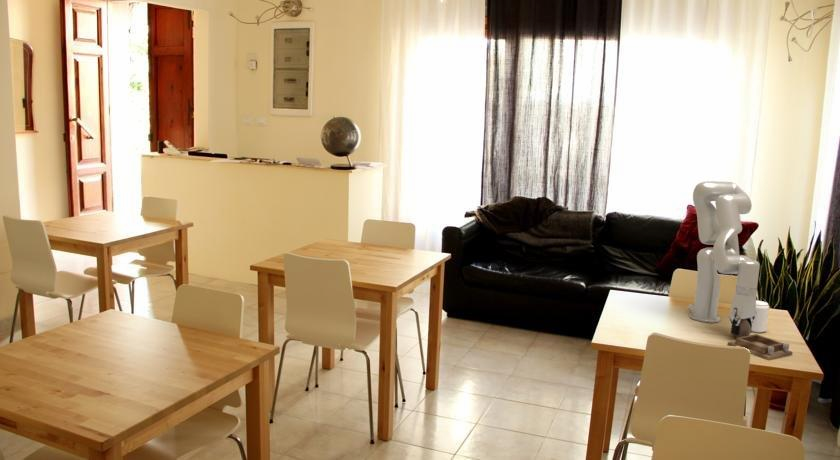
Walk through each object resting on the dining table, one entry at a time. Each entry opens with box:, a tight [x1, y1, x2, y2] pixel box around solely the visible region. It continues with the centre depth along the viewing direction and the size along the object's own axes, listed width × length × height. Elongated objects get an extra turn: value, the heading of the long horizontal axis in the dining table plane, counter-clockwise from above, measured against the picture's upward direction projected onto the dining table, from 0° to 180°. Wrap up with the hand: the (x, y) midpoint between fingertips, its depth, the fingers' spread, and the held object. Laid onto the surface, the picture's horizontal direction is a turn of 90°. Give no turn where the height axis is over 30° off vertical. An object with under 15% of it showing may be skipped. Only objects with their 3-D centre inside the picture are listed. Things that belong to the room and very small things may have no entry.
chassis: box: [726, 333, 794, 361], centre depth 280 cm, size 18×14×4 cm
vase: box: [732, 319, 752, 339], centre depth 293 cm, size 7×7×9 cm
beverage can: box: [751, 299, 770, 334], centre depth 304 cm, size 8×8×12 cm
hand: (740, 332), depth 294 cm, fingers closed on vase, 6 cm apart
